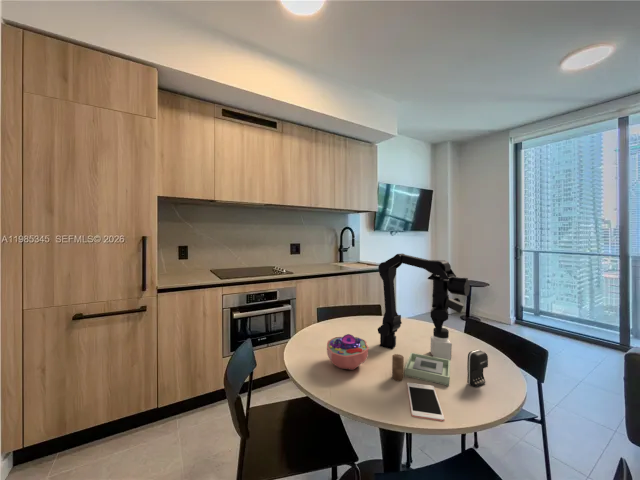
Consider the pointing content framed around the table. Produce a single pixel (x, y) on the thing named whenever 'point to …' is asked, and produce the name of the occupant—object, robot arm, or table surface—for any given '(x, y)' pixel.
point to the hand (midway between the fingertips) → (439, 329)
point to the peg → (397, 367)
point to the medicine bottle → (441, 344)
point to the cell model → (347, 351)
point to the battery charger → (476, 367)
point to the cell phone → (424, 402)
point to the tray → (427, 374)
